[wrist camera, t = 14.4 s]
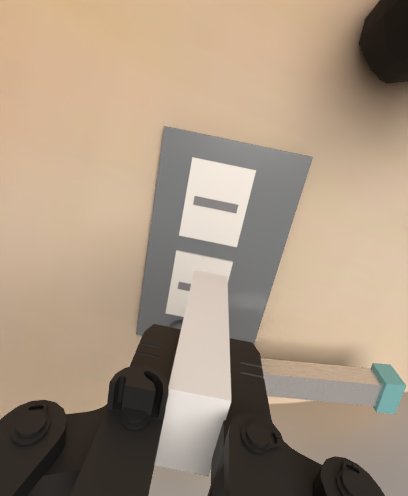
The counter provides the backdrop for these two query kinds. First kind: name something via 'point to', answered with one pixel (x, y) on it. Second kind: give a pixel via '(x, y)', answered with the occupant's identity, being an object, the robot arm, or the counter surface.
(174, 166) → the label board
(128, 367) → the robot arm
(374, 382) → the swing arm
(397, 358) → the counter surface
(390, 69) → the portable speaker
